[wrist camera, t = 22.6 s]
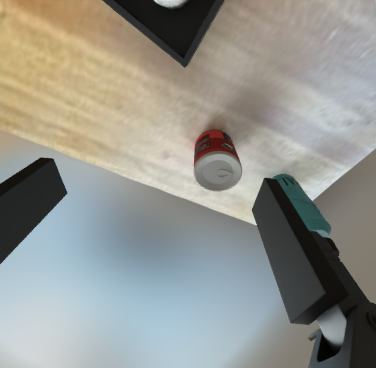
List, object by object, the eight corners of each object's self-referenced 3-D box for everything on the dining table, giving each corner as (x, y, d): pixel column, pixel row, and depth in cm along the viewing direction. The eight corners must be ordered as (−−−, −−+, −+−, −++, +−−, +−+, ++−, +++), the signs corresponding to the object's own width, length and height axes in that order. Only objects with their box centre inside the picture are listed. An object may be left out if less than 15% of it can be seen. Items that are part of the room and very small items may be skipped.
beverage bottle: (274, 196, 45) (316, 274, 29) (257, 181, 43) (293, 258, 27) (298, 180, 42) (359, 258, 26) (281, 163, 40) (338, 237, 24)
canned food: (232, 160, 40) (241, 190, 31) (196, 163, 41) (196, 193, 32) (232, 126, 36) (243, 149, 27) (192, 130, 37) (190, 155, 28)
